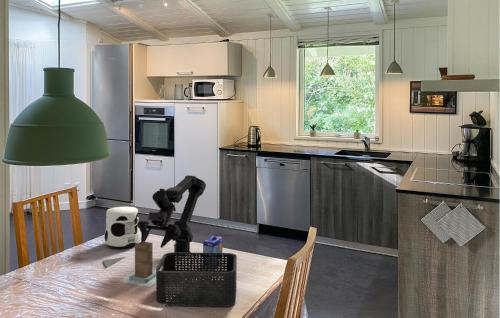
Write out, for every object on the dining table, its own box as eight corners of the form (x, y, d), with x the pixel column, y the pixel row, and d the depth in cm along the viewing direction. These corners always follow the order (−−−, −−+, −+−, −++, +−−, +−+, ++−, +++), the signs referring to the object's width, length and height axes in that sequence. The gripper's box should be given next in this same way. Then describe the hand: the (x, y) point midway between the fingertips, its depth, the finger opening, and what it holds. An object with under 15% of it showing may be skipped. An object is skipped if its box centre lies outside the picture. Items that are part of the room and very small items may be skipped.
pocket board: (138, 270, 175) (138, 266, 174) (167, 275, 170) (167, 270, 170) (118, 283, 161) (118, 278, 161) (149, 288, 157) (149, 283, 157)
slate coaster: (125, 258, 189) (125, 256, 189) (130, 265, 180) (130, 264, 180) (102, 261, 184) (102, 260, 184) (107, 269, 175) (107, 267, 175)
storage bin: (153, 306, 144) (153, 270, 142) (165, 283, 163) (165, 251, 161) (235, 308, 144) (236, 272, 142) (236, 285, 163) (237, 252, 161)
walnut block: (141, 274, 169) (141, 241, 167) (152, 275, 167) (152, 242, 166) (135, 278, 164) (134, 245, 163) (145, 280, 163) (145, 246, 161)
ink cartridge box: (213, 270, 178) (213, 237, 176) (201, 267, 180) (202, 235, 178) (222, 262, 187) (223, 231, 185) (212, 260, 189) (212, 230, 187)
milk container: (113, 238, 217) (113, 205, 214) (145, 240, 215) (145, 206, 213) (98, 249, 199) (97, 213, 197) (132, 251, 198) (132, 215, 196)
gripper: (138, 202, 176) (123, 233, 167) (177, 206, 170) (164, 239, 161) (148, 215, 184) (134, 246, 175) (186, 220, 178) (173, 252, 169)
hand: (151, 246), depth 170 cm, fingers open, 9 cm apart
